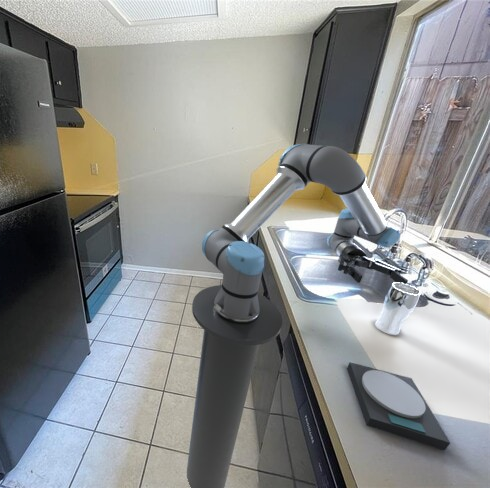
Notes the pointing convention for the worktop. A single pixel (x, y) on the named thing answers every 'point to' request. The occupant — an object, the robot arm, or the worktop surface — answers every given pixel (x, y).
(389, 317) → the beer glass
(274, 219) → the worktop surface
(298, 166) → the robot arm
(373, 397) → the scale
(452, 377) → the worktop surface
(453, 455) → the worktop surface
